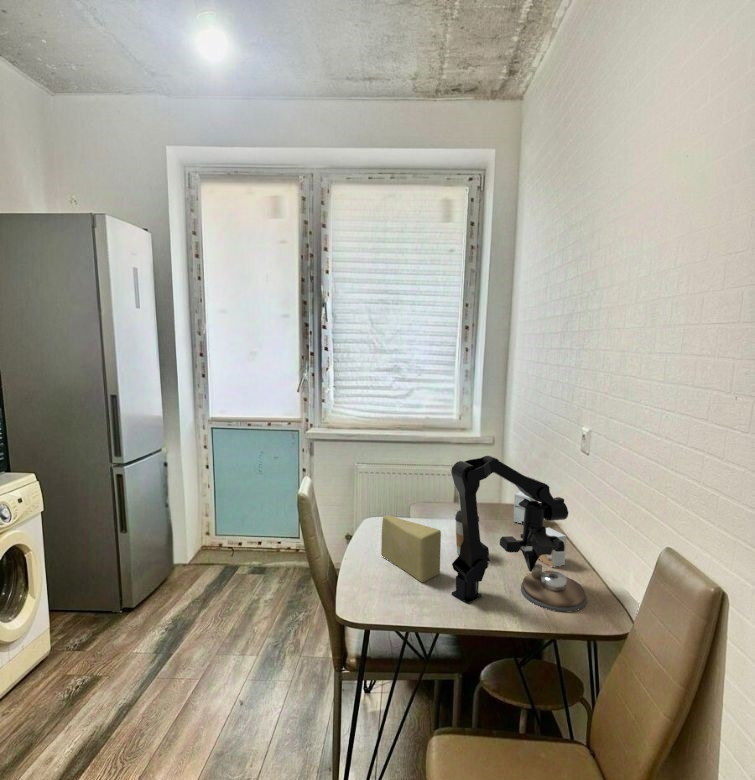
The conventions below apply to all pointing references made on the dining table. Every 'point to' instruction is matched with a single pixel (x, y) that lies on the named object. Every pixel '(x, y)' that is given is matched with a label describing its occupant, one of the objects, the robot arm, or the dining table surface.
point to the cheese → (411, 547)
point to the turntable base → (550, 605)
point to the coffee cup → (459, 531)
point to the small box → (555, 557)
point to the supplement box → (519, 509)
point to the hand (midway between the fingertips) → (530, 571)
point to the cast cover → (553, 581)
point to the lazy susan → (560, 599)
